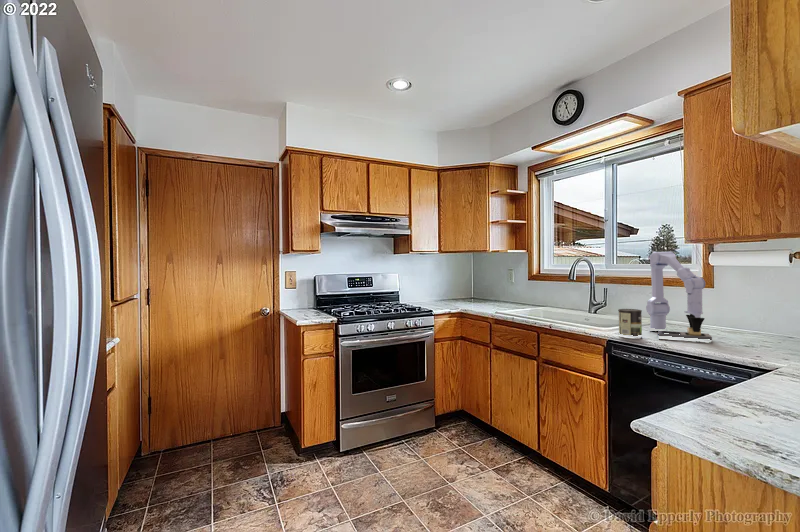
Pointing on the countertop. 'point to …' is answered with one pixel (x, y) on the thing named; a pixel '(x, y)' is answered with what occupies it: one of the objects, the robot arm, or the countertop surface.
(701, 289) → the robot arm
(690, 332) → the tan rectangular block
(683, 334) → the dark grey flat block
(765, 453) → the countertop surface
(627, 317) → the coffee can
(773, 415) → the countertop surface
